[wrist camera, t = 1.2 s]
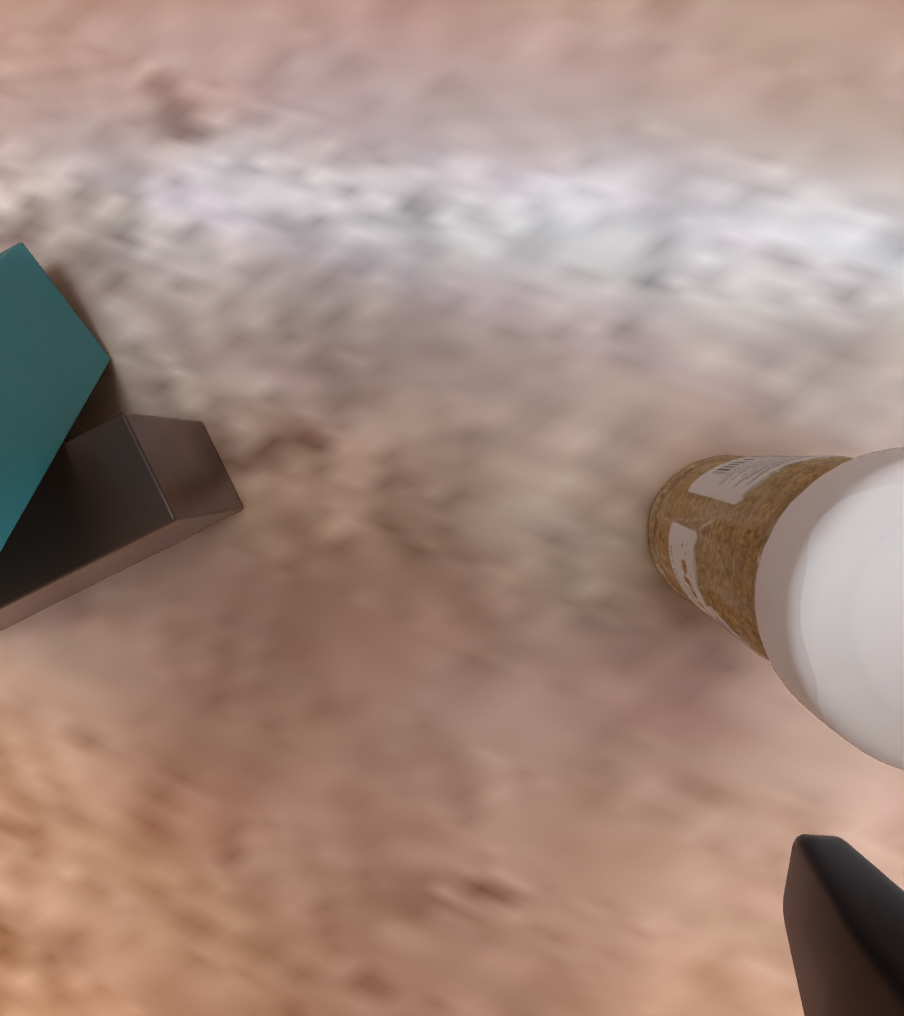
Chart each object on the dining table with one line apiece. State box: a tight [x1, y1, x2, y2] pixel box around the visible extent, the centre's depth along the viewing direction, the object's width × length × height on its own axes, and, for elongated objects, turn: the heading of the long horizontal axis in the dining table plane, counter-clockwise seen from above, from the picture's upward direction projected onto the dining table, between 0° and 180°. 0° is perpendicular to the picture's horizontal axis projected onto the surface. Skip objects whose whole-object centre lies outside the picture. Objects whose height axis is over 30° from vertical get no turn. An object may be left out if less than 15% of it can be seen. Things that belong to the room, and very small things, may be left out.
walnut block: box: [0, 413, 243, 631], centre depth 24 cm, size 3×10×5 cm, turn 116°
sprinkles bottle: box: [648, 448, 904, 770], centre depth 18 cm, size 5×5×13 cm
